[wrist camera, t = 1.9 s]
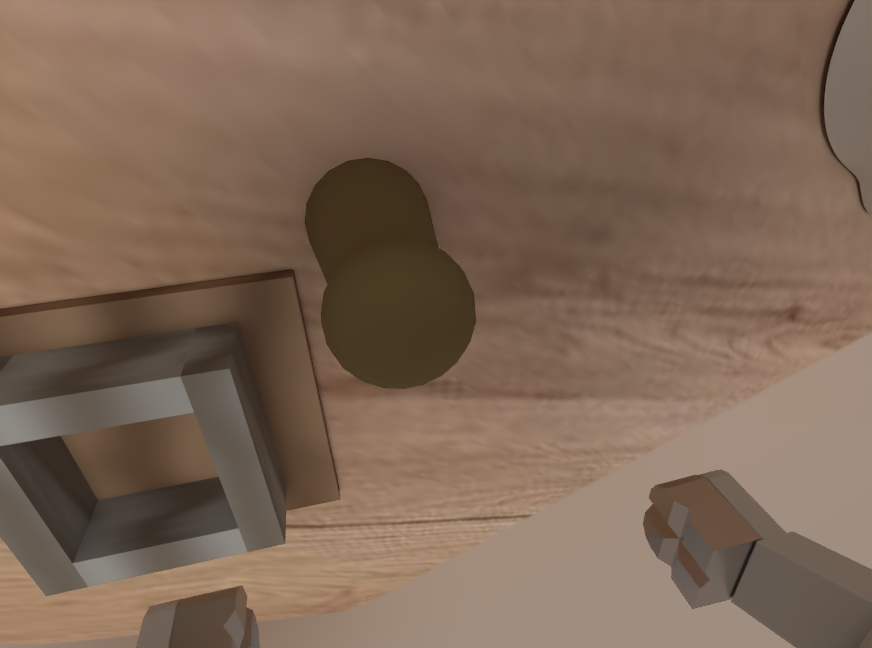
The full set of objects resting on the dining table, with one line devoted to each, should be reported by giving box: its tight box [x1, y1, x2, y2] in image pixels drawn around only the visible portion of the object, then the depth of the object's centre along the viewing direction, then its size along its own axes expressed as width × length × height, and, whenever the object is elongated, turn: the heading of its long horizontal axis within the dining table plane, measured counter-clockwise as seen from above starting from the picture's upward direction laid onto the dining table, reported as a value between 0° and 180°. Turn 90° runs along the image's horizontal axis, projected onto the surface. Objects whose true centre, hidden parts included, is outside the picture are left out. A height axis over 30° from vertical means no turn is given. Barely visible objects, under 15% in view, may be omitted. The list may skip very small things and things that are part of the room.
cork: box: [305, 158, 476, 389], centre depth 21 cm, size 6×6×11 cm
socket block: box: [0, 270, 340, 596], centre depth 27 cm, size 18×16×5 cm
